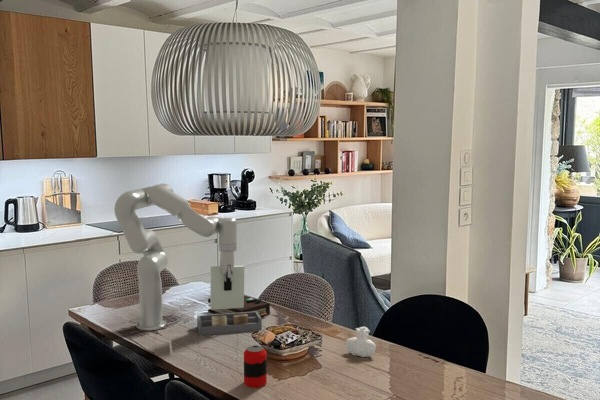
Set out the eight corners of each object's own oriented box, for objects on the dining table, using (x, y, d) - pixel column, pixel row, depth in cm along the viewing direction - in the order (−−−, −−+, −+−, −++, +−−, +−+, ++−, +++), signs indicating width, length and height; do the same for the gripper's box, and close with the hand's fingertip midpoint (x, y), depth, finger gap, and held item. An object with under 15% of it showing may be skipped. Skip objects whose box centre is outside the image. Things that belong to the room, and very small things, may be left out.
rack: (199, 337, 232) (199, 323, 232) (197, 329, 242) (197, 315, 242) (261, 332, 239) (261, 318, 238) (257, 324, 249) (256, 311, 249)
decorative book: (235, 289, 281) (275, 302, 259) (235, 304, 281) (275, 318, 260) (202, 296, 267) (241, 310, 246) (203, 312, 268) (242, 327, 246)
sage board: (211, 309, 239) (211, 267, 237) (210, 307, 242) (210, 266, 240) (243, 307, 243) (244, 266, 241) (242, 306, 245) (243, 265, 243)
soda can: (266, 378, 192) (266, 344, 191) (266, 388, 185) (266, 352, 184) (244, 378, 192) (244, 344, 191) (243, 388, 185) (243, 352, 183)
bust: (376, 362, 213) (383, 334, 218) (370, 355, 207) (377, 326, 212) (346, 356, 218) (354, 329, 223) (340, 349, 213) (348, 321, 218)
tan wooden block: (234, 330, 237) (234, 317, 237) (233, 328, 240) (232, 314, 240) (248, 329, 239) (248, 315, 238) (247, 327, 242) (246, 313, 241)
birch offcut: (212, 332, 235) (212, 318, 234) (211, 330, 238) (211, 316, 237) (226, 331, 237) (226, 317, 236) (226, 329, 240) (225, 315, 239)
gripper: (216, 243, 246) (216, 285, 248) (221, 251, 231) (220, 295, 233) (233, 243, 248) (233, 284, 250) (239, 250, 233) (238, 294, 235)
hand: (227, 289), depth 241 cm, fingers closed on sage board, 2 cm apart
